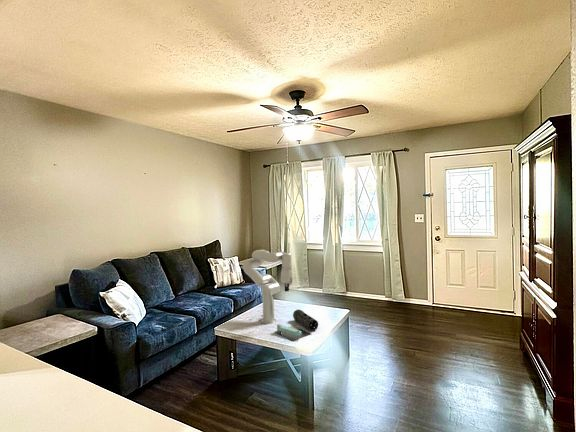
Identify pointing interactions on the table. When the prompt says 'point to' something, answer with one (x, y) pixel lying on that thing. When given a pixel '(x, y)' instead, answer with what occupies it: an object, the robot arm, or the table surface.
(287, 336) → the dark grey mat
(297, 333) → the swing arm
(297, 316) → the muzzle brake
